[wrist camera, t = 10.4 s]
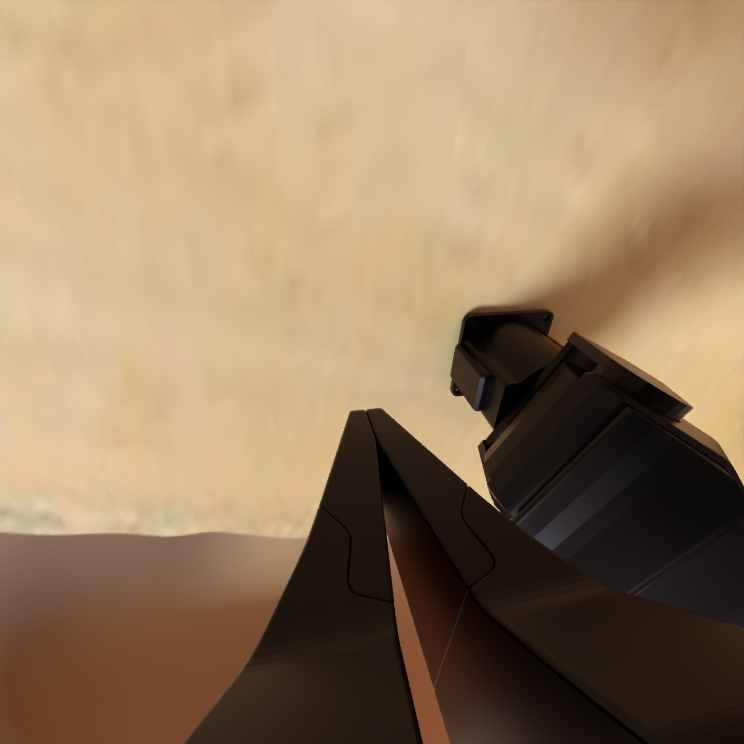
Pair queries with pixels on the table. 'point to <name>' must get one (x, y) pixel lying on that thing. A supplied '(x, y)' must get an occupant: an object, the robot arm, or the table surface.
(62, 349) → the table surface
